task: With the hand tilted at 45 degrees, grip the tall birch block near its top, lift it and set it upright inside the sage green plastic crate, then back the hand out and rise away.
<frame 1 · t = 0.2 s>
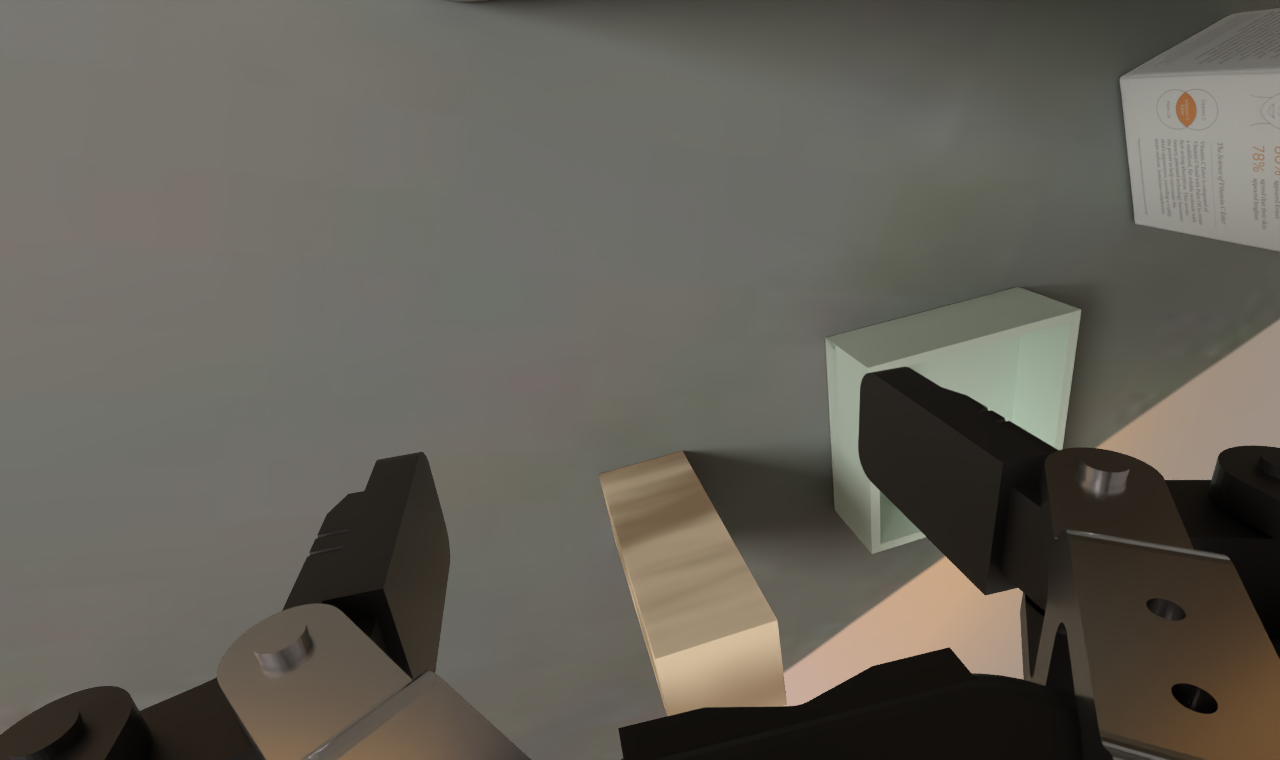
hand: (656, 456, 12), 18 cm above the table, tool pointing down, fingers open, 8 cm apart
birch block: (648, 497, 34), on the table
small box: (1175, 123, 32), on the table
crate: (921, 403, 35), on the table
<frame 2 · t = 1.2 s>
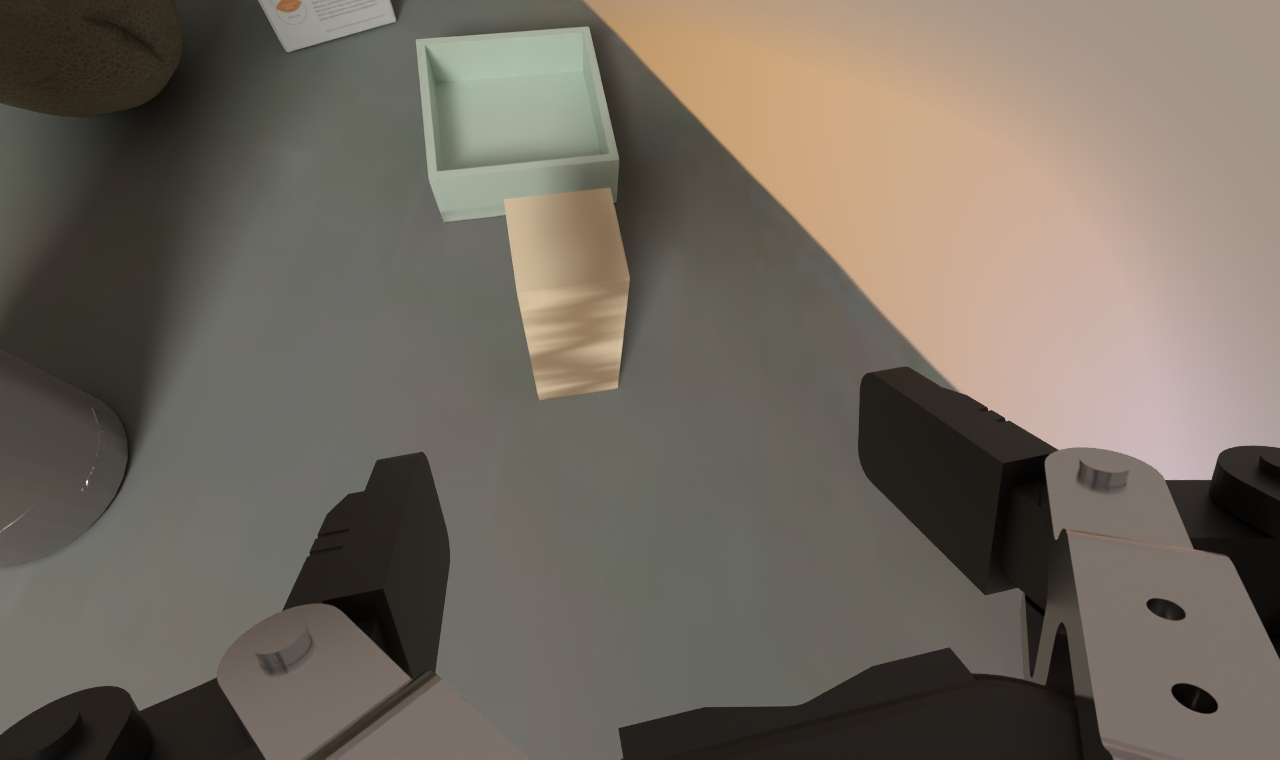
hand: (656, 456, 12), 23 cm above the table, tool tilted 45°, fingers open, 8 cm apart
brown leather ball: (110, 91, 42), on the table
birch block: (572, 358, 37), on the table
small box: (330, 12, 46), on the table
crate: (520, 144, 43), on the table
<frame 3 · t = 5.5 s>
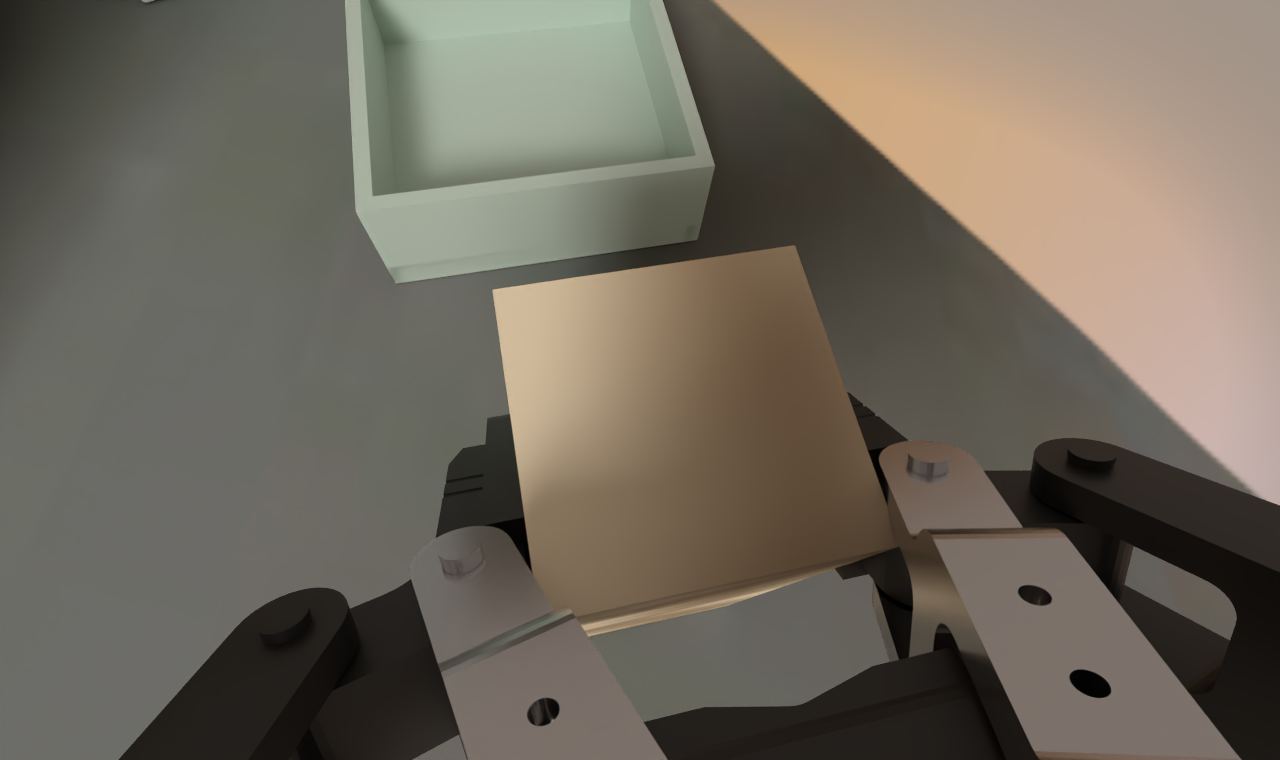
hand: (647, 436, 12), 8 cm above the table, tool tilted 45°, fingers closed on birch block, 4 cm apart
birch block: (636, 545, 20), on the table, touching gripper
crate: (529, 144, 25), on the table
when the fingers open (10 cm above the table, at t = 12.2 s): birch block stays where it is, resting on crate.
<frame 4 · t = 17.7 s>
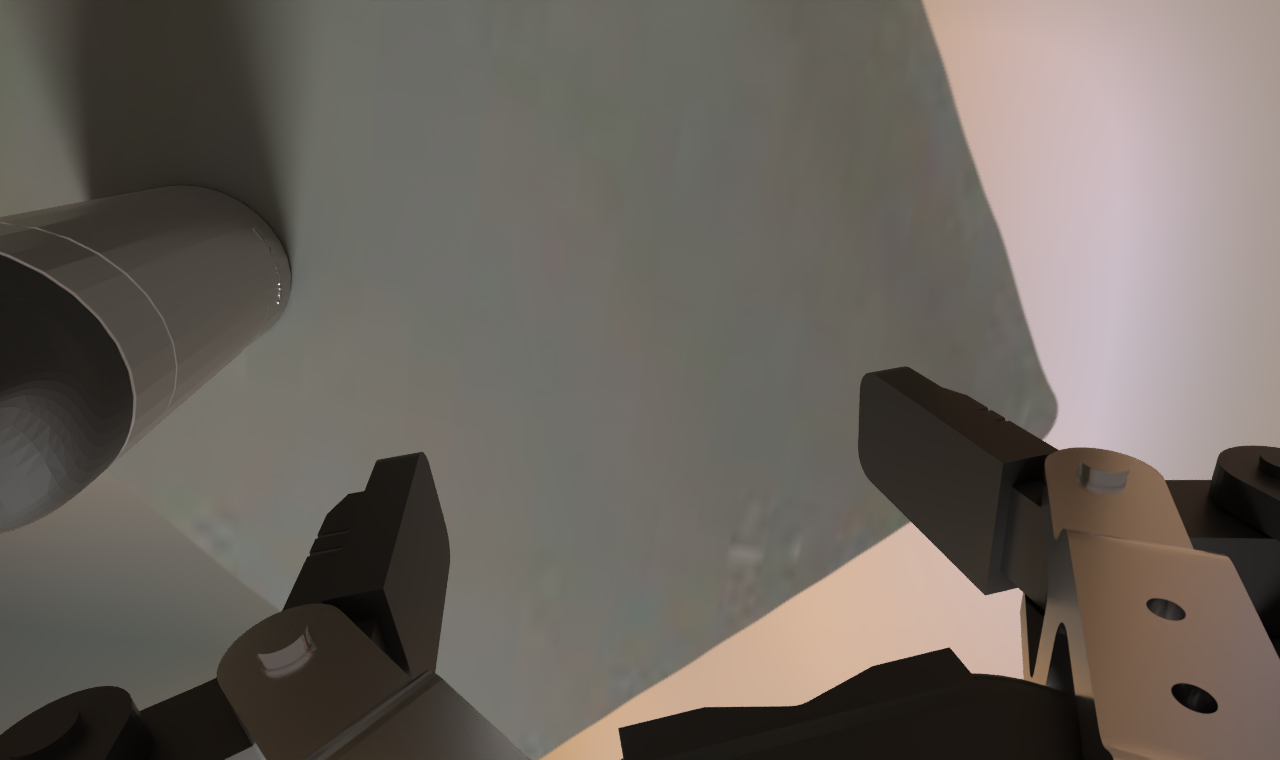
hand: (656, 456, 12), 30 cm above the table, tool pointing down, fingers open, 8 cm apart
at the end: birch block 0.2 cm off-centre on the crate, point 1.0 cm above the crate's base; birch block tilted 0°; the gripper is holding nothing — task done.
